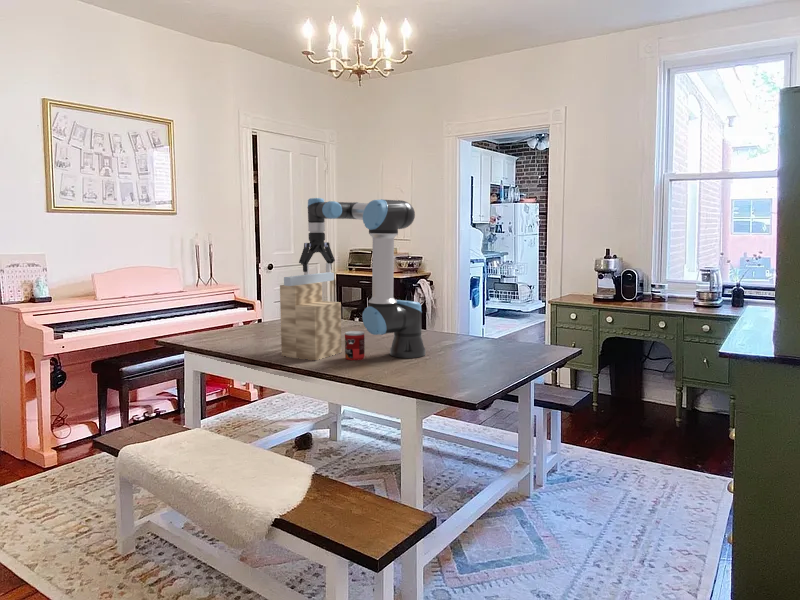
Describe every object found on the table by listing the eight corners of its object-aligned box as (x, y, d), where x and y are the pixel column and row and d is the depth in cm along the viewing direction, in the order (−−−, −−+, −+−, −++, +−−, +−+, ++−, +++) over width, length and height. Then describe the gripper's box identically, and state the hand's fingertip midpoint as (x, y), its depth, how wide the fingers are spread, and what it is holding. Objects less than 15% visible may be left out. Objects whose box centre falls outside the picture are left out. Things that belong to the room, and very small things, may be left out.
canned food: (343, 357, 249) (342, 331, 248) (361, 356, 252) (361, 330, 251) (348, 361, 242) (347, 334, 241) (366, 359, 245) (366, 333, 244)
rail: (327, 280, 273) (327, 272, 272) (334, 280, 271) (334, 272, 271) (284, 285, 247) (283, 277, 247) (290, 286, 245) (290, 277, 245)
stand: (308, 348, 267) (307, 281, 264) (341, 352, 258) (340, 283, 255) (281, 356, 252) (279, 285, 248) (315, 360, 243) (314, 287, 239)
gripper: (330, 232, 288) (331, 276, 290) (290, 232, 269) (291, 279, 271) (341, 231, 283) (342, 276, 285) (301, 232, 264) (302, 280, 266)
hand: (317, 278), depth 278 cm, fingers open, 13 cm apart
